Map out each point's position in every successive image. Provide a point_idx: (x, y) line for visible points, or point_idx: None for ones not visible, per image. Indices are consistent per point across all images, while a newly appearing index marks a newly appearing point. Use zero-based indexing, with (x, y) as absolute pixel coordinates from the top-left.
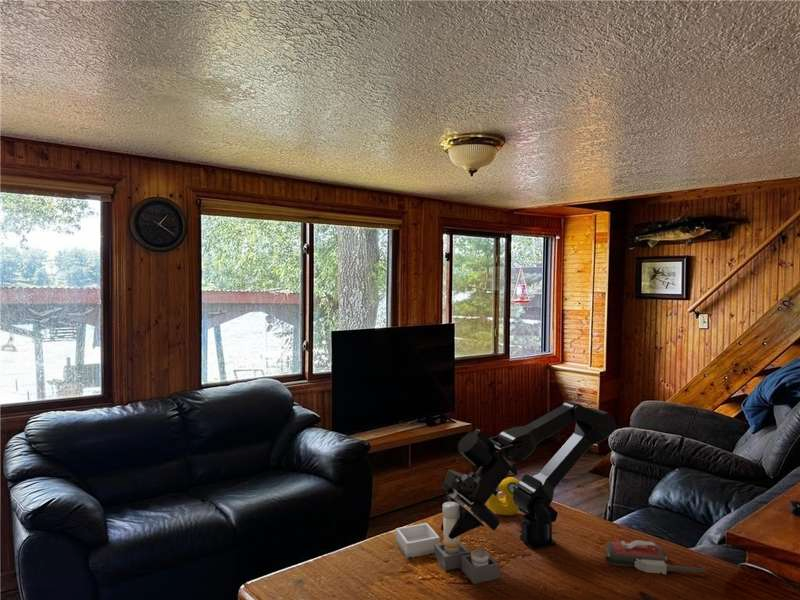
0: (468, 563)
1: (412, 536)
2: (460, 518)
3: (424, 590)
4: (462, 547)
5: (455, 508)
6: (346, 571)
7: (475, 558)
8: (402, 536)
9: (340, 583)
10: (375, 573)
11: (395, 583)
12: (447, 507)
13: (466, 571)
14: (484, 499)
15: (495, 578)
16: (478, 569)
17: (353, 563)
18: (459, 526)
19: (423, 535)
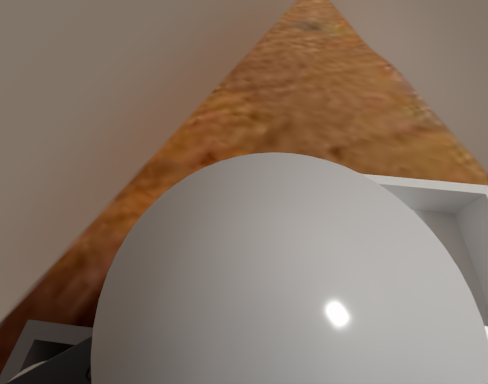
0: (85, 331)
1: (473, 266)
2: (89, 368)
3: (152, 173)
4: None
5: (103, 303)
6: (318, 79)
7: (34, 367)
8: (411, 180)
9: (277, 62)
10: (286, 115)
11: (222, 133)
12: (224, 188)
13: None
14: None
15: None
16: (14, 349)
17: (348, 95)
18: None
19: (483, 318)
